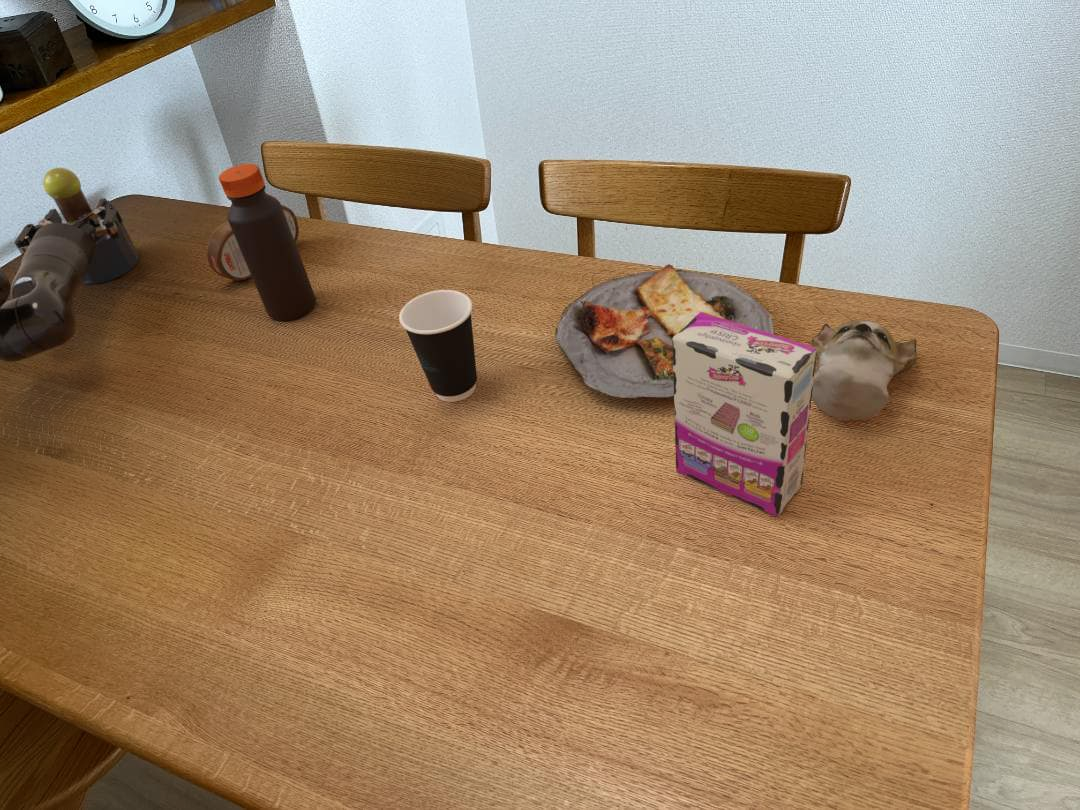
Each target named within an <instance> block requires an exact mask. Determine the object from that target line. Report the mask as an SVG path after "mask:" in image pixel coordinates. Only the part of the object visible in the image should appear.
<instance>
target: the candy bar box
mask: <svg viewBox="0 0 1080 810" xmlns="http://www.w3.org/2000/svg"><path fill="white" fill-rule="evenodd" d="M774 334H775V333H774ZM774 334H771V333H768V332H765V331H761V330H758V329H755V328H752V327H749V326H745V325H742V324H739V323H736V322H733V321H729V320H726V319H723V318H720V317H717V316H713V315H710V314H707V313H704V312H700V313H699V314H698V315H696V316H695V317H694V318H693V319H692V320H691V321H690V322H689V324H688V325H687V326H685V327H684V328H683V329H682V330H680V331H679V332H678V333H677V334H676V335H675V336H674V337H673V338H672V348H673V375H674V376H673V378H674V396H673V406H674V408H673V410H674V415H673V416H674V445H675V446H674V447H675V471H676V472H677V473H679V474H681V475H682V476H683V475H684V476H686V477H688V478H690V479H692V480H694V481H697V482H699V483H702V484H703V485H706V486H708V487H709V488H710V487H711V488H712V489H715V490H717V491H719V492H722V493H724V494H726V495H729V496H731V497H733V498H735V499H738V500H740V501H741V502H744V503H746V504H748V505H751V506H753V507H755V508H757V509H759V510H762V511H764V512H766V513H769V514H770V515H773V516H775V517H777V518H779V517H780V516H781V514H782V513H783V511H784V510H785V509H786V507H787V506H788V504H789V503H790V502H791V501H792V500H793V498H794V497H795V496H796V495H797V494H798V492H799V490H800V489H801V488H802V486H803V479H804V469H805V461H806V453H807V452H806V451H807V441H808V434H809V424H810V415H811V407H812V400H813V399H812V390H813V380H814V374H815V373H816V372H815V371H816V362H817V356H816V354H817V348H816V347H813V346H811V344H806V343H803V342H800V341H797V340H793V339H790V338H786V337H784V336H781V335H777V334H775V335H774Z"/></svg>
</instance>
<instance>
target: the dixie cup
mask: <svg viewBox="0 0 1080 810" xmlns="http://www.w3.org/2000/svg"><path fill="white" fill-rule="evenodd" d="M472 311H473V302H472V299H471V298H470V297H469V296H468V295H467V294H465V293H463V292H460V291H459V290H452V289H439V290H431V291H427V292H425V293H422V294H419V295H417V296H416V297H414V298H412V299H411V300H409V301H407V303H406V304H405V305H403V307H402V309H401V310H400V312H399V315H398V316H399V317H398V319H399V323H400V325H401V326H402V328H404V329H405V331H406V333H407V336H408V338H409V340H410V343H411V345H412V348H413V350H414V352H415V354H416V357H417V359H418V361H419V363H420V366H421V368H422V370H423V373H424V375H425V378H426V379H427V382H428V384H429V387H430V389H431V391H432V392H433V393H434V394H435V397H437V398H438V399H439V400H440V401H443V402H446V403H455V402H460V401H463V400H466V399H468V398H469V397H470V396H472V395H473V393H474V392H475V391H476V389H477V385H476V384H477V381H478V375H477V374H478V373H477V365H476V363H477V362H476V354H475V340H474V332H473V331H474V330H473V320H472Z"/></svg>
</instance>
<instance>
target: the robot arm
mask: <svg viewBox="0 0 1080 810" xmlns="http://www.w3.org/2000/svg"><path fill="white" fill-rule="evenodd" d="M98 217H99V218H101V222H100V223H99V221H98ZM86 221H88V223H89V224H88V223H86ZM37 222H38V224H36V225H35V224H33V223H28V224H26V225H25V226H24V227H23V228H22V229H21V231H20V233H19V235H18V236H17V238H16V239H15V240H14V245H15V246H16V248H17V250H18V251H19V253H20V254H21V255H22V258H21V262H20V266H19V268H18V270H17V271H16V274H15V275H14V278H13V280H12V281H10V278H9V277H8V275H7V274H6V273H5V272H4V270H2V269H1V268H0V361H2V362H6V363H7V362H9V363H13V362H14V363H15V362H19V361H23V360H25V359H28V358H31V357H34V356H37V355H39V354H42V353H45V352H47V351H50V350H52V349H55V348H58V347H61V346H63V345H65V344H67V343H68V342H69V341H70V340H71V339H72V338H73V337H74V336H75V334H76V332H77V329H78V322H77V317H76V311H75V302H74V299H75V297H76V294H77V292H78V290H79V288H80V287H81V286H82V285H83V284H82V282H83V280H84V278H85V275H86V273H87V271H88V268H89V265H90V263H91V260H92V258H93V253H94V243H95V242H97V241H98V240H99V237H100V236H104V235H109V236H110V237H111V238H112V239H115V238H118V237H119V236H120V232H121V228H122V224H123V225H124V220H123V218H122V216H121V214H120V212H119V210H118V208H117V206H116V205H112V203H111V200H108V199H107V198H106V197H104V198H103V197H102V198H100V199H99V201H98V203H97V205H96V208H95V209H94V210H93V212H92V213H87V212H86V213H84V214H83V215H81V216H80V217H78V218H77V219H76V220H71V221H70V222H68V223H67V222H63V219H62V217H61V215H60V213H59V212H58V210H57V209H56V208H52V209H49V210H48V213H46V214H45V215H44V218H43V219H40V220H39V221H37ZM11 282H12V283H11ZM10 297H11V299H10V300H8V299H9V298H10ZM7 300H8V301H7Z"/></svg>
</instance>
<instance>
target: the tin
mask: <svg viewBox="0 0 1080 810" xmlns="http://www.w3.org/2000/svg"><path fill="white" fill-rule="evenodd" d="M281 206H282V208H283V211H284V214H285V217H286V219H287V222H288V225H289V227H290V230H291V233H292V235H293V238H294V241H295V243H296V244H297V242H298V239H299V233H300V229H299V223H298V219H297V217H296V213H294V211H293V210H292V209H291V208H289V207H288V206H286V205H284V204H281ZM206 259H207V262H208V265H209V267H210V268H211V270H212V271H213V272H214V273H215V274H216V275H218V276H220V277H222V278H226V279H228V280H232V281H238V282H239V281H240V282H241V281H246V280H248V279H250V278H252V276H251V274H250V271H249V269H248V267H247V264H246V262H245V260H244V257H243V255H242V253H241V250H240V248H239V246H238V243H237V241H236V238H235V236H234V234H233V231H232V229H231V227H230V224H229V222H228V220H227V221H225V222H223V223H222V224H220V225H219V226H218V227H217V228H216V229H215V230H214V231H213V232H212V233H211V235H210V237H209V239H208V241H207V245H206Z"/></svg>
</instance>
